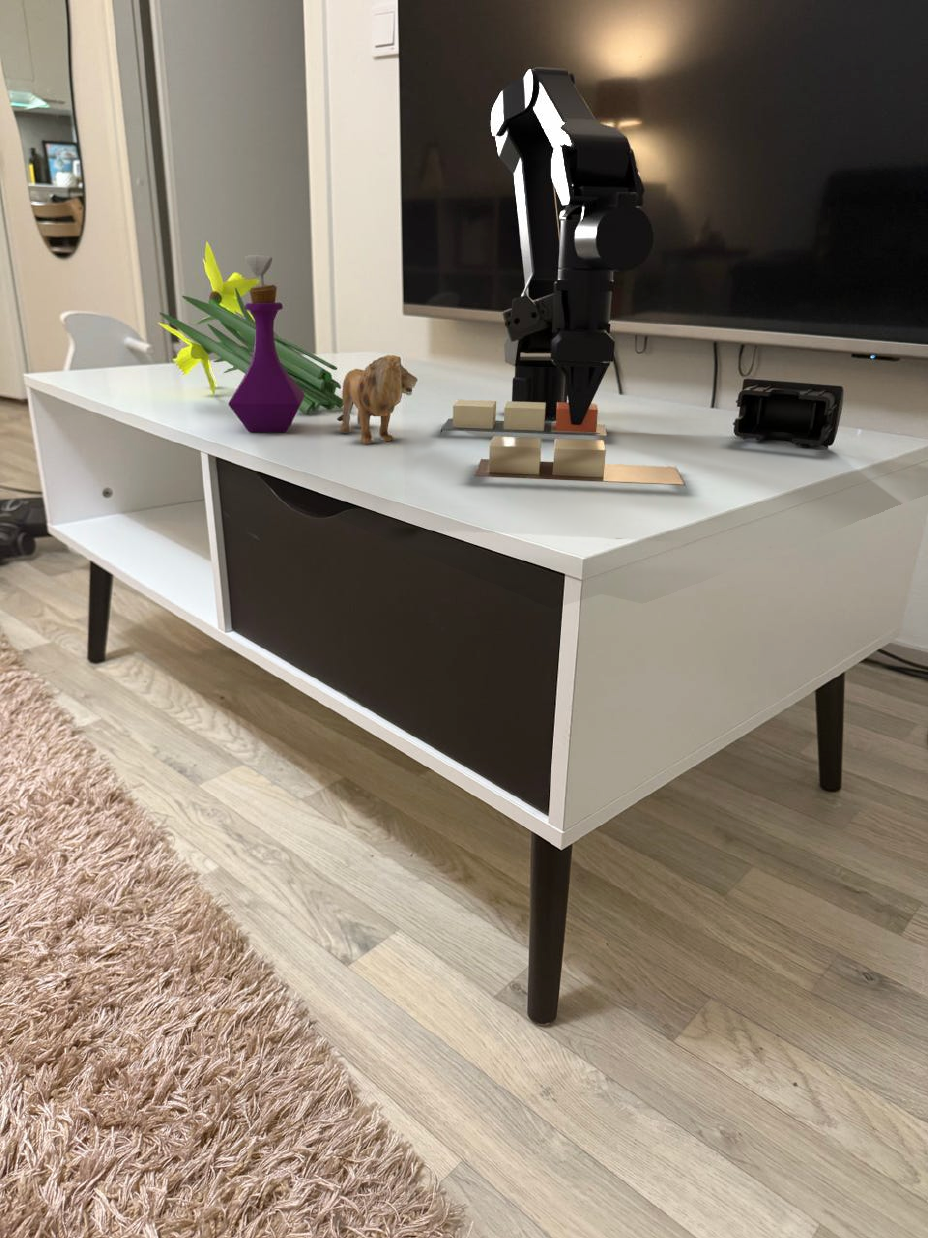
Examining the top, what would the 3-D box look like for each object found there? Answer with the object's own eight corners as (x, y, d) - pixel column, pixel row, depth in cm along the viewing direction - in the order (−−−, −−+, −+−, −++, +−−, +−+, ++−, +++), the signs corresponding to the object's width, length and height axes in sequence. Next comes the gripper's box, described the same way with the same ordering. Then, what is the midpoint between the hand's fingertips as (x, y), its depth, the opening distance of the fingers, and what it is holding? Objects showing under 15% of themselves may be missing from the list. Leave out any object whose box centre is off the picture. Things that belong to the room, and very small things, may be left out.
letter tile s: (555, 430, 98) (556, 408, 97) (555, 423, 102) (557, 402, 101) (596, 432, 98) (597, 409, 97) (595, 425, 102) (596, 403, 101)
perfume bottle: (240, 422, 104) (228, 254, 97) (306, 422, 105) (298, 255, 98) (230, 434, 97) (216, 254, 90) (300, 435, 98) (292, 255, 91)
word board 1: (440, 436, 98) (440, 406, 97) (447, 425, 105) (448, 397, 104) (606, 443, 97) (609, 412, 96) (604, 431, 103) (606, 402, 102)
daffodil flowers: (250, 429, 105) (107, 325, 123) (327, 473, 118) (186, 373, 136) (328, 303, 103) (171, 217, 122) (397, 362, 116) (246, 276, 134)
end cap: (835, 447, 97) (846, 382, 95) (826, 458, 91) (837, 390, 89) (741, 437, 102) (749, 375, 99) (726, 447, 96) (735, 382, 93)
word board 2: (473, 484, 78) (474, 447, 77) (480, 467, 85) (481, 432, 84) (684, 493, 77) (688, 456, 76) (675, 475, 83) (678, 440, 82)
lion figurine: (422, 445, 94) (423, 355, 90) (377, 450, 91) (376, 358, 88) (357, 423, 105) (355, 342, 102) (315, 427, 102) (312, 344, 99)
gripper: (513, 266, 103) (508, 405, 109) (502, 268, 86) (497, 433, 92) (611, 268, 102) (600, 408, 108) (620, 271, 85) (607, 437, 91)
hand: (575, 420), depth 100 cm, fingers closed on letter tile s, 4 cm apart
